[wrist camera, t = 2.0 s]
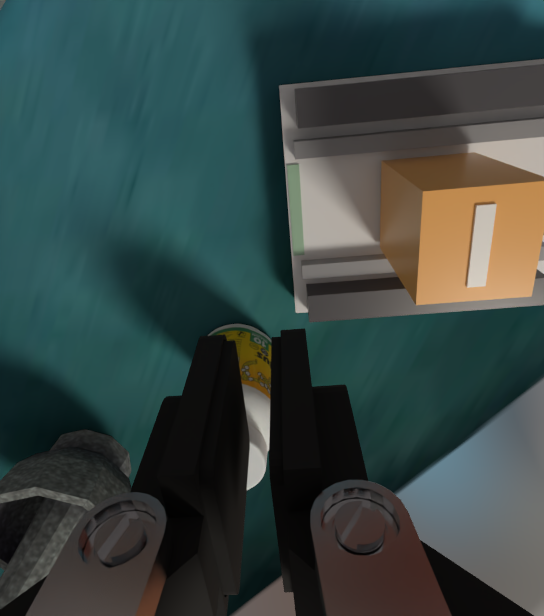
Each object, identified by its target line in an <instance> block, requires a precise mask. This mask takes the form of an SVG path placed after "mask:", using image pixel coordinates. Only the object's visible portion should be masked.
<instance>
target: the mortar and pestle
mask: <svg viewBox="0 0 544 616" xmlns="http://www.w3.org/2000/svg"><path fill="white" fill-rule="evenodd" d="M130 473H131V465H130V458H129V452H128V451H127V450H125V449H124V448H123V447H122V446H121V445H120V444H119V443H118V442H117V441H116V440H115V439H114V438H113V437H112V436H108V435H105V434H101V433H97V432H94V431H90V430H86V429H84V430H79V431H75V432H70V433H66V434H62V435H61V436H60V437H59V439H58V440H57V441H56V443H55V444H54V445H53V447H52V448H51V449H50V451H46V452H41V453H37V454H34V455H32V456H30V457H28V458H26V459H24V460H22V461H20V462H18V463H17V464H16V465H15V466H14V467H13V468H12V469H11V470H10V471H9V472H8V473H7V474H6V475H5V476H4V477H3V478H2V480H1V481H0V567H1V568H2V569H3V570H5V571H4V573H3V574H2V576H1V578H0V609H1V608H3V607H4V606H6V605H7V604H8V603H10V602H11V601H12V600H14V599H15V598H17V597H18V596H19V595H21V594H22V593H24V592H25V591H26V590H28V589H29V588H30V587H32V586H33V585H35V584H36V583H37V582H39V581H40V580H42V579H43V578H44V577H46V576H47V575H48V574H49V572H50V570H51V568H52V567H53V565H54V563H55V561H56V559H57V558H58V556H59V554H60V552H61V550H62V549H63V547H64V545H65V543H66V541H67V540H68V538H69V536H70V534H71V532H72V531H73V529H74V528H75V526H76V525H77V524H78V522H79V521H80V519H81V518H82V517H83V516H84V515H85V514H86V513H87V512H88V511H90V510H91V509H92V508H93V507H94V506H96V505H97V504H99V503H101V502H103V501H104V500H106V499H108V498H110V497H113V496H116V495H119V494H122V493H130V491H131V489H132V488H131V484H130V480H129V478H128V477H129V475H130Z"/></svg>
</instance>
